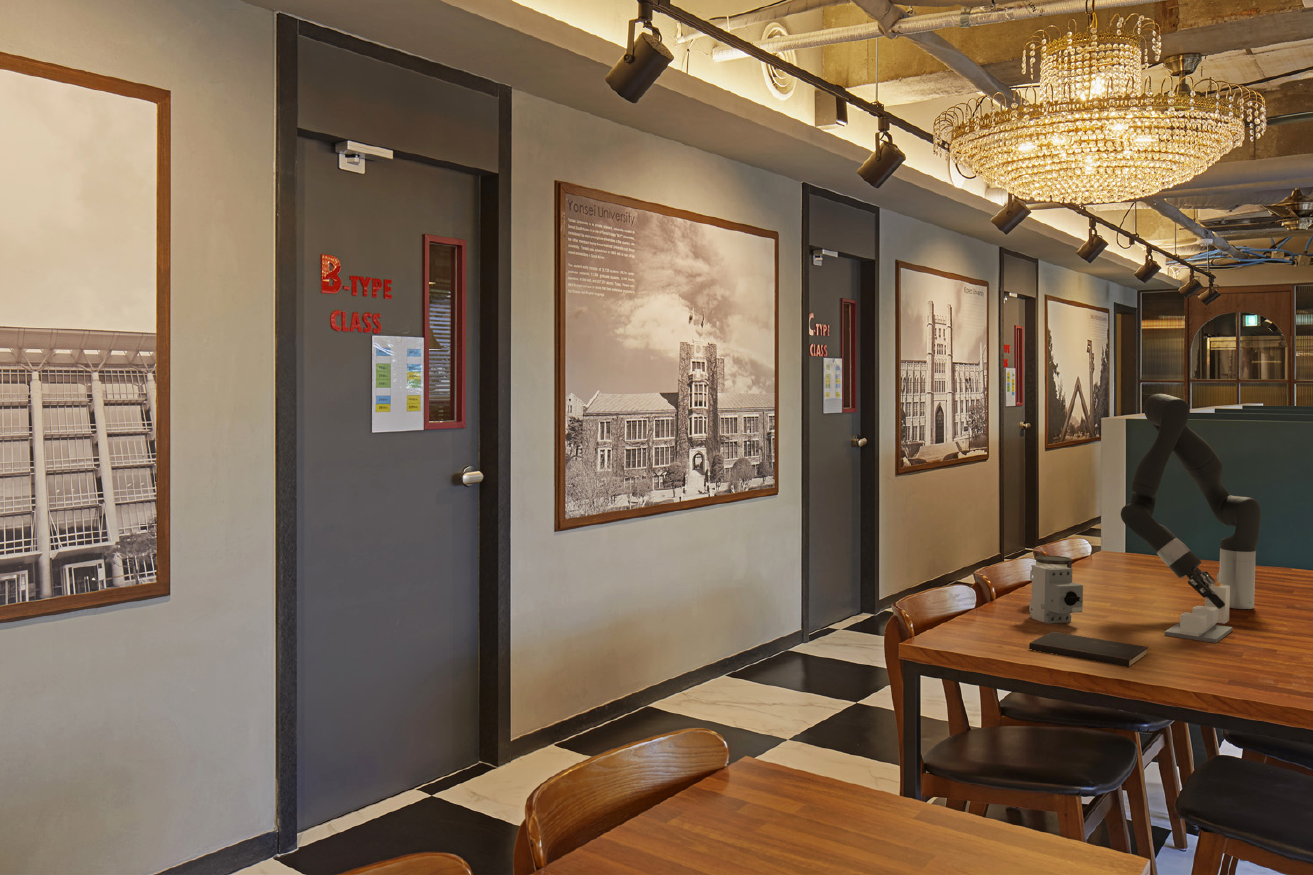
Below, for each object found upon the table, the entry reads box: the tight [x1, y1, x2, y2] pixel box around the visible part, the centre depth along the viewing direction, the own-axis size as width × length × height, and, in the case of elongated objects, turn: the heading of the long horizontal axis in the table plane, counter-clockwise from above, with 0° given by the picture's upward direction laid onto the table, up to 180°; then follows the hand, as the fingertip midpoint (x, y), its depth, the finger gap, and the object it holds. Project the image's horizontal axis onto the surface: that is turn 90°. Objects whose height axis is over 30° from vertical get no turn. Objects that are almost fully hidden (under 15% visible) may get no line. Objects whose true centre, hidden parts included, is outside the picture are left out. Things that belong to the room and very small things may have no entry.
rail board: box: [1164, 604, 1233, 644], centre depth 256 cm, size 18×12×6 cm, turn 138°
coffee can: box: [1035, 555, 1073, 570], centre depth 292 cm, size 10×10×14 cm
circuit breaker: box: [1028, 564, 1084, 625], centre depth 267 cm, size 8×14×15 cm, turn 15°
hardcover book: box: [1028, 631, 1149, 668], centre depth 236 cm, size 16×23×2 cm
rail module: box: [1204, 580, 1230, 625], centre depth 271 cm, size 5×5×11 cm
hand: (1224, 605), depth 269 cm, fingers closed on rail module, 5 cm apart
